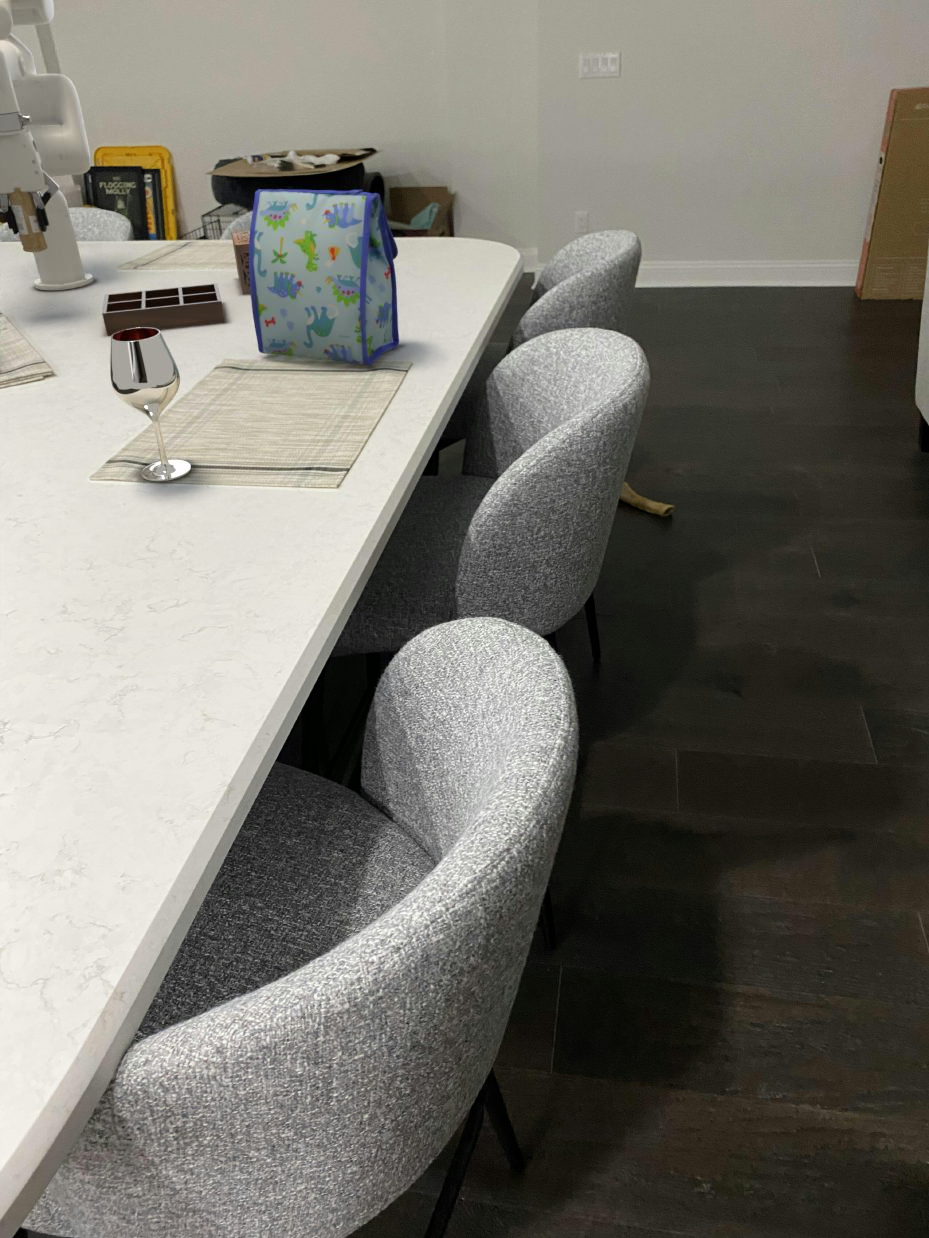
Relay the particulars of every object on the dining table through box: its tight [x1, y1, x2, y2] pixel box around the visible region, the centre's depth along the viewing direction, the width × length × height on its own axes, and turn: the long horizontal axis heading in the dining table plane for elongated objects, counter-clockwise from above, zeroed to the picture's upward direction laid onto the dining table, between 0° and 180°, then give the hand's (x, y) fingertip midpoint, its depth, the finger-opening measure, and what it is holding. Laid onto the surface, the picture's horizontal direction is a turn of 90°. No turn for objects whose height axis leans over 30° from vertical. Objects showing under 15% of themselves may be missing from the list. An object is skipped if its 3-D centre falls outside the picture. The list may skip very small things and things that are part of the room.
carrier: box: [101, 282, 226, 336], centre depth 182 cm, size 15×22×4 cm
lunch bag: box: [249, 188, 400, 366], centre depth 155 cm, size 22×17×26 cm
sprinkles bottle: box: [8, 182, 48, 253], centre depth 175 cm, size 5×5×13 cm
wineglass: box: [109, 328, 192, 482], centre depth 117 cm, size 8×8×18 cm
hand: (30, 230), depth 177 cm, fingers closed on sprinkles bottle, 4 cm apart
